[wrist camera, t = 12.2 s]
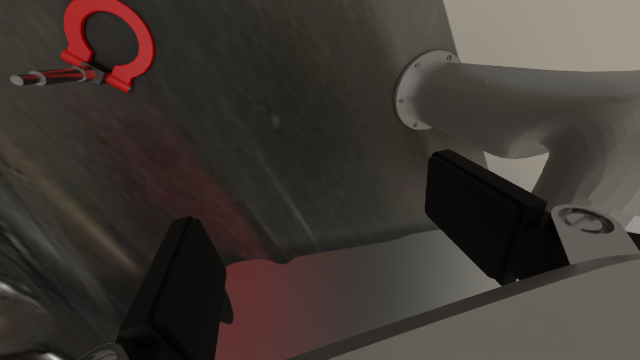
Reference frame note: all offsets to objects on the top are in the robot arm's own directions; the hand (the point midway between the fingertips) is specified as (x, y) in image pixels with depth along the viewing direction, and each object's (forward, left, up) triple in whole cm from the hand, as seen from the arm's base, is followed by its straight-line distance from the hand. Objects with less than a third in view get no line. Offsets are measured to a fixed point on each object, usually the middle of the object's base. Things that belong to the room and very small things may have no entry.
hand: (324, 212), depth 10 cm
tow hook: (+17, -10, -30) cm, 36 cm away
